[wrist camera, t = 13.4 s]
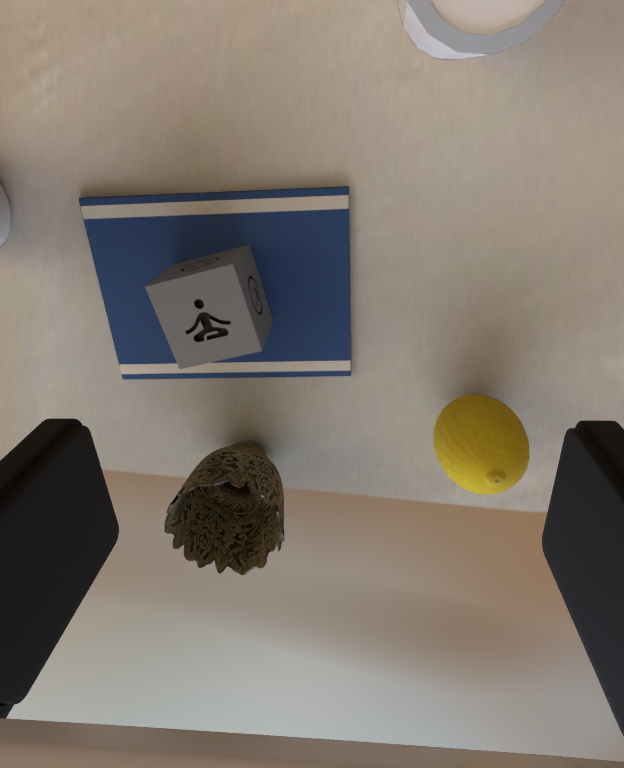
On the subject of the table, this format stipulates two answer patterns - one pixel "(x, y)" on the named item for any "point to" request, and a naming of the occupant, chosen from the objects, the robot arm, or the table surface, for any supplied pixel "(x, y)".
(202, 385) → the table surface
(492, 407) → the lemon
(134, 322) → the cloth
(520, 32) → the white tapered cylinder
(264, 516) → the cup
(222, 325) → the dice cube
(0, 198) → the energy drink can
